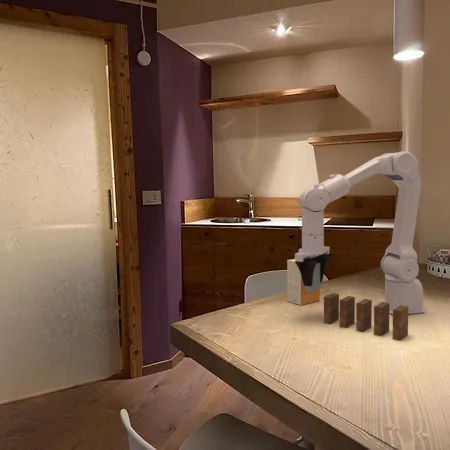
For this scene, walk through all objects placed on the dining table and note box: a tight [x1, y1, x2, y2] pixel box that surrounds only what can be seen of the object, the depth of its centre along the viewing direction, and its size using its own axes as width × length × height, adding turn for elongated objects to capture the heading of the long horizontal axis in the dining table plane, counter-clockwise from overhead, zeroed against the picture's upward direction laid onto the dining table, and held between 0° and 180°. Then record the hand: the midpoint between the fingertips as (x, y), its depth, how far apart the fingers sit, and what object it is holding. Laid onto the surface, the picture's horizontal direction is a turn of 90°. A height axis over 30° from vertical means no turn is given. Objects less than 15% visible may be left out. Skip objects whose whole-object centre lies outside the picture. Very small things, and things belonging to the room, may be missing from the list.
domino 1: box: [323, 292, 340, 325], centre depth 113 cm, size 2×5×7 cm, turn 138°
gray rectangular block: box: [305, 263, 321, 292], centre depth 116 cm, size 2×5×7 cm, turn 138°
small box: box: [286, 258, 321, 306], centre depth 132 cm, size 8×6×13 cm
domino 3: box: [355, 298, 373, 333], centre depth 107 cm, size 2×5×7 cm, turn 138°
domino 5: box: [392, 305, 409, 342], centre depth 101 cm, size 2×5×7 cm, turn 138°
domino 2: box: [339, 295, 356, 329], centre depth 110 cm, size 2×5×7 cm, turn 138°
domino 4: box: [373, 301, 390, 337], centre depth 104 cm, size 2×5×7 cm, turn 138°
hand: (313, 283), depth 117 cm, fingers closed on gray rectangular block, 5 cm apart
